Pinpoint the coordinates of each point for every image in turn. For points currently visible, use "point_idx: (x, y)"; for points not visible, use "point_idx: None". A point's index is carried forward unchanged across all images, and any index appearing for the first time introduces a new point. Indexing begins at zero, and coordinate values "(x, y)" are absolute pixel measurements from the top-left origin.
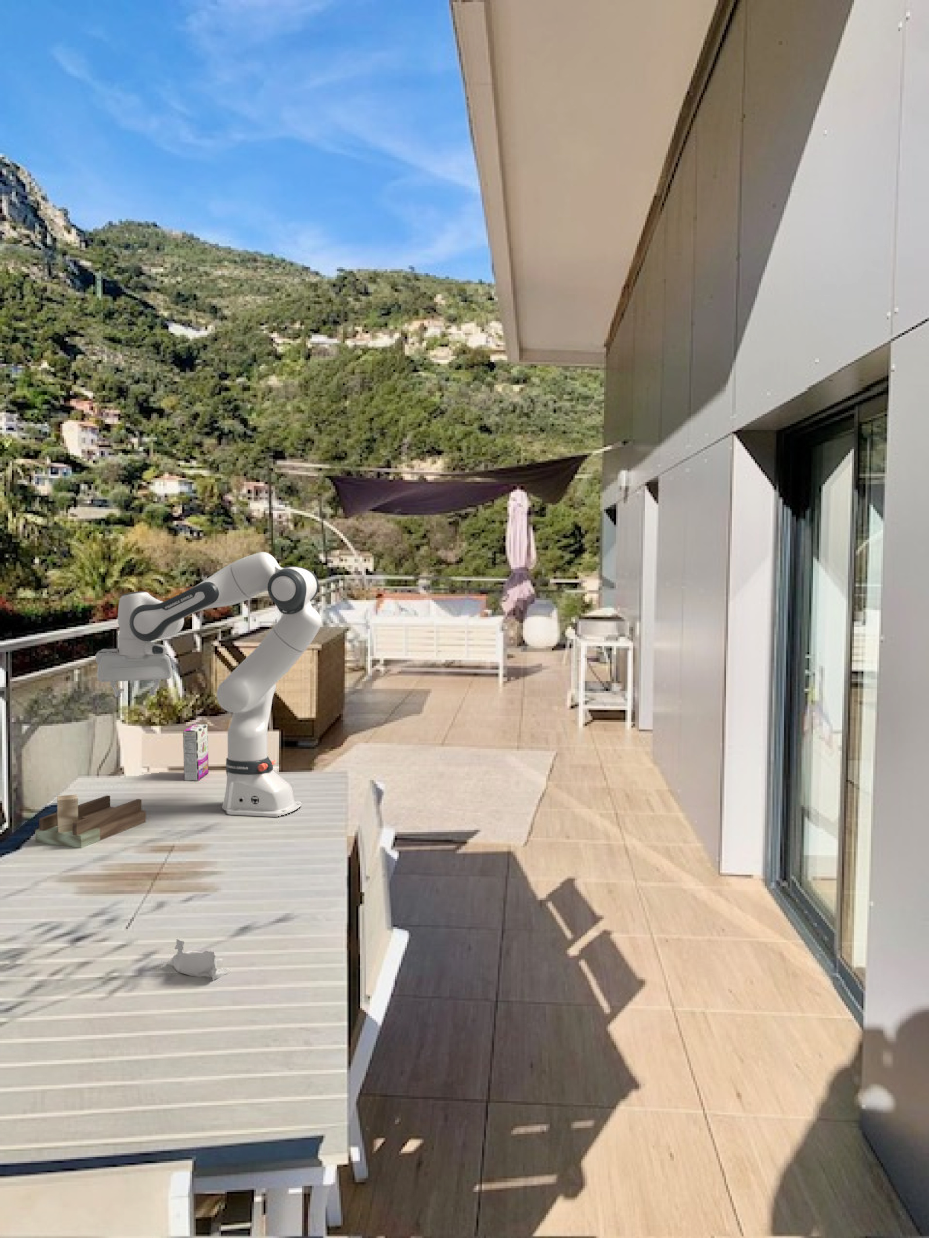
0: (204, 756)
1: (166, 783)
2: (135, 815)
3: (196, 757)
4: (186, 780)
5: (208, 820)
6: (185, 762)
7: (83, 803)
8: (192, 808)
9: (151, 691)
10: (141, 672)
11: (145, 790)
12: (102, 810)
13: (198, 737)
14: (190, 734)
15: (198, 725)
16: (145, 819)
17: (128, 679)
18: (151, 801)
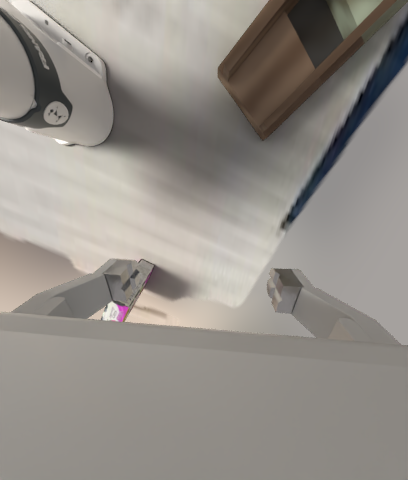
0: None
1: (172, 262)
2: (237, 43)
3: None
4: (152, 264)
5: (131, 37)
6: (145, 276)
7: (317, 78)
8: (151, 132)
9: (119, 267)
10: (72, 434)
11: (195, 244)
12: (274, 104)
13: None
14: None
15: None
16: (218, 75)
17: (260, 340)
18: (195, 193)
